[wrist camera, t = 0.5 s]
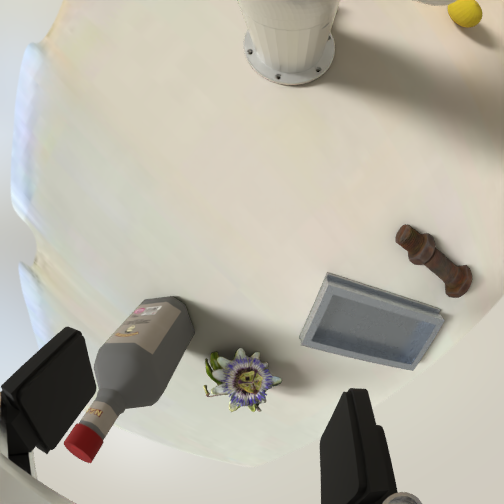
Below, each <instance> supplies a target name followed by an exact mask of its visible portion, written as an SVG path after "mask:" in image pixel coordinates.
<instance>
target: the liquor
mask: <svg viewBox="0 0 504 504" xmlns="http://www.w3.org/2000/svg"><path fill="white" fill-rule="evenodd" d="M194 333H195V331H194V328H193V325H192V322H191V320H190V317H189V314H188V311H187V308H186V305H185V304H184V303H182V302H181V301H179V300H178V299H176V298H175V297H173V296H170V297H162V298H154V299H146V300H144V301H143V302H142V303H141V304H140V305H139V306H138V307H137V308H136V310H135V311H134V312H133V313H132V314H131V315H130V316H129V317H128V318H127V319H126V320H125V321H124V322H123V324H122V325H121V326H120V327H119V328H118V329H117V330H116V331H115V332H114V333H113V334H112V336H111V337H110V338H109V339H108V340H107V341H106V342H105V343H104V344H103V346H102V347H101V348H100V349H99V351H98V354H97V357H96V360H95V364H94V371H95V375H96V379H97V383H98V387H99V391H98V393H97V397H96V399H95V400H94V402H93V403H92V405H91V406H90V408H89V409H88V411H87V412H86V413H85V415H84V416H83V418H82V419H81V421H80V422H79V424H76V425H75V427H74V428H73V430H72V431H71V433H70V434H69V436H68V437H67V438H66V440H65V441H64V445H65V447H66V448H67V449H68V450H69V451H70V452H71V453H72V454H73V455H75V456H76V457H78V458H79V459H81V460H83V461H85V462H88V463H91V462H92V460H93V459H94V457H95V456H96V454H97V452H98V451H99V449H100V447H101V446H102V444H103V440H104V438H105V437H106V435H107V433H108V432H109V430H110V428H111V427H112V425H113V424H114V422H115V421H116V419H117V418H118V416H119V415H120V414H121V413H123V412H124V410H125V409H128V408H137V407H145V406H152V405H153V404H154V403H156V402H157V401H158V400H159V398H160V397H161V395H162V394H163V393H164V391H165V389H166V387H167V385H168V383H169V381H170V379H171V377H172V375H173V373H174V371H175V369H176V367H177V365H178V364H179V362H180V360H181V358H182V356H183V354H184V352H185V350H186V348H187V346H188V344H189V343H190V341H191V339H192V337H193V335H194Z"/></svg>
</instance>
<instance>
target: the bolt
mask: <svg viewBox="0 0 504 504" xmlns="http://www.w3.org/2000/svg"><path fill="white" fill-rule="evenodd" d="M396 243H398V244H399V245H401V246H402V247H403V248H404V249H405V250H407V251H408V256H409V260H410V261H411V262H412V263H413V264H414V265H422V264H424V265H425V266H426V267H427V268H429V269H430V270H431V271H432V272H433V273H435V274H436V275H437V276H438V277H439V278H440V279H442V280H443V281H444V283H445V291H446V294H447V295H448V296H449V297H453V298H458V297H461V296H462V295H464V294H465V293H466V292H467V291H468V289H469V288H470V286H471V283H472V273H471V270H470V268H469V267H468V266H467V265H463V266H456V265H454V264H453V263H452V262H451V261H450V260H449V259H448V258H447V257H446V256H445V255H444V254H442V253H441V252H440V251H439V250H438V249H437V248H436V247H435V241H434V238H433V237H432V236H431V235H430V234H428V233H424V234H419V233H418V232H417V231H416V230H415V229H413V228H412V227H411V226H410V225H406V224H405V225H403V226H402V227H401V228H400V229H399V231H398V233H397V235H396Z"/></svg>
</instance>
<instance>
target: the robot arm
mask: <svg viewBox="0 0 504 504" xmlns="http://www.w3.org/2000/svg"><path fill="white" fill-rule="evenodd" d="M237 1H238V4H239V7H240V9H241V12H242V14H243V17H244V20H245V22H246V25H247V28H248V30H247V32H246V34H245V37H244V52H245V56H246V58H247V61H248V62H249V64H250V66H251V67H252V68H253V69H254V70H255V71H256V72H257V73H258V74H259V75H261V76H262V77H263V78H265V79H267V80H269V81H272V82H275V83H278V84H284V85H300V84H305V83H308V82H311V81H313V80H315V79H317V78H319V77H320V76H321V75H323V74H324V73H325V72H326V71H327V69H328V68H329V67H330V65H331V63H332V61H333V58H334V55H335V43H334V39H333V36H332V34H331V32H330V30H331V27H332V24H333V21H334V18H335V15H336V12H337V9H338V6H339V2H340V0H237ZM414 1H417V2H420V3H424V4H428V5H433V6H444V5H449V4H451V3H454V2H455V1H457V0H414ZM328 40H329V41H328ZM249 53H253V54H251V55H249ZM316 70H319V71H320V72H316ZM277 77H280V79H277ZM1 388H2V391H1V392H0V504H76V503H74V502H72V501H70V500H69V499H67V498H65V497H64V496H62V495H60V494H58V493H57V492H55V491H54V490H52V489H50V488H49V487H47V486H46V485H44V484H43V483H41V482H40V481H38V480H37V474H36V468H35V461H34V453H33V449H34V448H35V446H36V447H37V448H38V449H40V450H42V451H43V452H45V453H46V454H48V452H49V451H50V450H53V449H54V448H55V447H56V446H57V444H58V443H59V442H60V440H61V439H62V437H63V436H64V435H65V433H66V432H67V431H68V429H69V428H70V426H71V425H72V424H73V422H74V421H75V420H76V418H77V417H78V416H79V414H80V413H81V411H82V410H83V409H84V407H85V406H86V405H87V403H88V402H89V401H90V399H91V398H92V397H93V395H94V394H95V392H96V383H95V380H94V376H93V372H92V368H91V364H90V360H89V356H88V352H87V347H86V343H85V339H84V337H83V336H82V333H81V332H80V331H78V330H76V329H73V328H70V327H65V328H64V329H63V330H62V331H60V332H59V333H58V334H57V335H56V336H55V337H54V338H52V339H51V340H50V341H49V342H48V343H47V344H46V345H44V346H43V347H42V348H41V349H40V350H39V351H38V352H37V353H36V354H35V355H33V357H31V358H30V359H29V360H28V361H27V362H26V363H25V364H24V365H23V366H21V367H20V369H18V370H17V371H16V372H15V373H14V374H13V375H12V376H11V377H10V378H9V379H8V380H7V381H6V382H5V383H4V384H3V385H2V386H1ZM320 467H321V504H422V503H421V501H420V500H419V499H418V498H417V497H416V496H414V495H413V494H410V493H407V492H400V493H398V492H397V488H396V482H395V477H394V472H393V468H392V463H391V458H390V454H389V450H388V445H387V442H386V437H385V433H384V430H383V428H382V427H381V426H380V425H376V422H375V418H374V414H373V410H372V406H371V402H370V398H369V394H368V391H367V390H366V389H355V388H350V389H349V390H348V392H343V394H342V396H341V398H340V400H339V402H338V404H337V406H336V409H335V411H334V413H333V415H332V417H331V419H330V421H329V423H328V425H327V427H326V429H325V431H324V433H323V435H322V437H321V440H320Z"/></svg>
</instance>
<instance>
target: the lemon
mask: <svg viewBox="0 0 504 504" xmlns="http://www.w3.org/2000/svg"><path fill="white" fill-rule="evenodd" d="M448 13H449V15H450V17H451V19H452V20H453V21H454V22H455V23H456V24H458V25H460V26H462V27H467V28H468V27H473V26H475V25H477V24H478V23H479V22H480V20H481V19H482V9H481V7H480V5H479V4H478V3H477V2H476V1H475V0H457V1H455V2H454V3H451V4H449V5H448Z"/></svg>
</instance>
